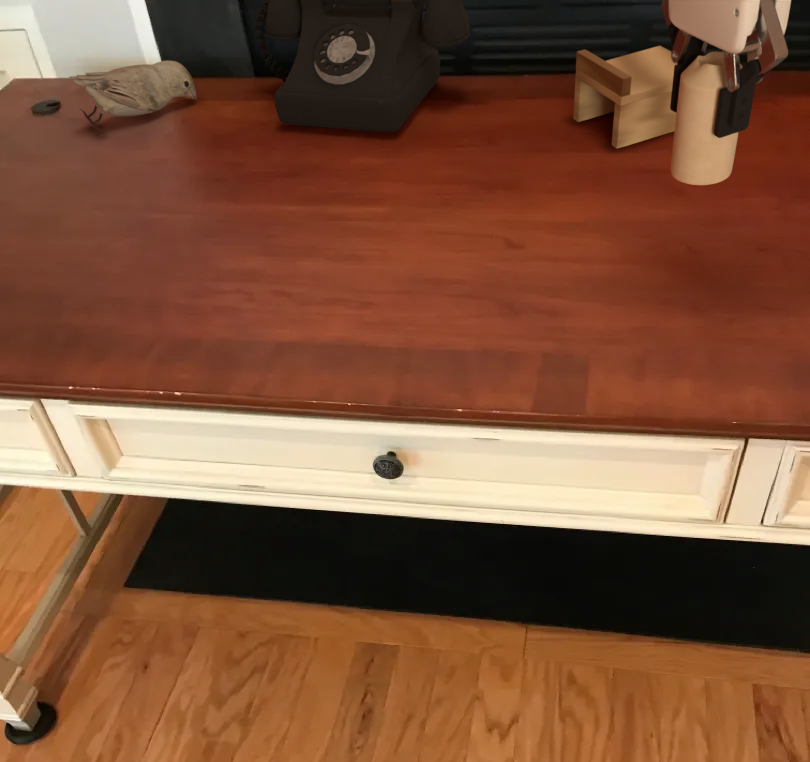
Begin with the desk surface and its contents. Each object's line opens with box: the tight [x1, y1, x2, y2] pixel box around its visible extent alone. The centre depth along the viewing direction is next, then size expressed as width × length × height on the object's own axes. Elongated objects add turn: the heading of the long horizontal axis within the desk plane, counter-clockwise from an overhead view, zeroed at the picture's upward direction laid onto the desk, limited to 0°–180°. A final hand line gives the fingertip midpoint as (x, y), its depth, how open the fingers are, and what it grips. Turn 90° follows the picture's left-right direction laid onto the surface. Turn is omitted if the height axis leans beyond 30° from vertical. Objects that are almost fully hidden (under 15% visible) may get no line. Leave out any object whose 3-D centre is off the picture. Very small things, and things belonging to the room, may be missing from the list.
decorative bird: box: [68, 60, 198, 134], centre depth 123 cm, size 5×16×8 cm, turn 119°
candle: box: [670, 51, 744, 186], centre depth 80 cm, size 6×6×10 cm
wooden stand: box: [572, 45, 677, 149], centre depth 109 cm, size 12×10×8 cm
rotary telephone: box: [253, 0, 471, 133], centre depth 116 cm, size 30×17×15 cm, turn 70°
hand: (708, 117), depth 80 cm, fingers closed on candle, 5 cm apart
